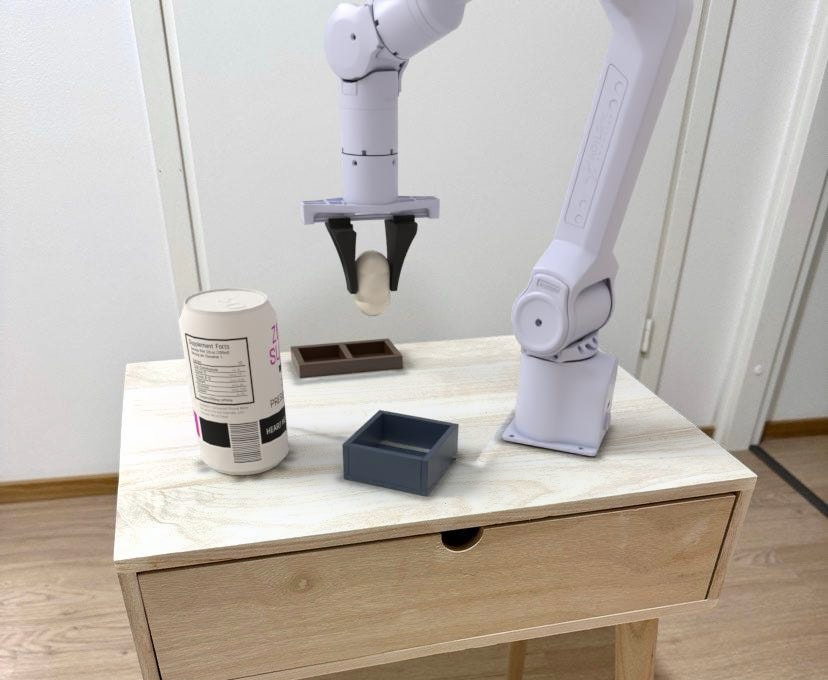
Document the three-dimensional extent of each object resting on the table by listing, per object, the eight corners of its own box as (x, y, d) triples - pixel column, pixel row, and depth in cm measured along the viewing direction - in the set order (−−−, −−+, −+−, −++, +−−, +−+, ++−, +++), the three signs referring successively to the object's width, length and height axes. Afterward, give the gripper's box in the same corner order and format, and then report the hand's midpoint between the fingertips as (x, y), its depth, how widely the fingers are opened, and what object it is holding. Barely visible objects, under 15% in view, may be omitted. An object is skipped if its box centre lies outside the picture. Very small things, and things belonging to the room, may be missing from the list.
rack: (402, 373, 91) (402, 356, 90) (300, 382, 88) (298, 365, 87) (388, 354, 96) (388, 338, 95) (291, 363, 93) (290, 346, 92)
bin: (457, 457, 73) (459, 423, 71) (427, 496, 67) (427, 461, 65) (379, 442, 75) (379, 409, 73) (343, 478, 69) (342, 444, 67)
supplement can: (188, 453, 73) (160, 295, 64) (264, 432, 77) (247, 280, 68) (225, 487, 67) (200, 320, 59) (305, 462, 72) (292, 302, 63)
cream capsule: (395, 312, 86) (395, 248, 82) (381, 322, 83) (380, 256, 79) (364, 308, 87) (362, 244, 83) (348, 318, 84) (346, 252, 80)
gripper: (427, 146, 81) (424, 276, 89) (292, 149, 77) (301, 284, 85) (447, 154, 75) (443, 293, 83) (303, 158, 72) (312, 302, 80)
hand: (372, 290), depth 84 cm, fingers closed on cream capsule, 4 cm apart
